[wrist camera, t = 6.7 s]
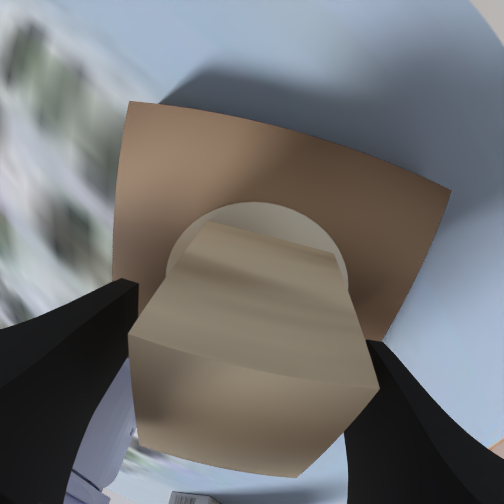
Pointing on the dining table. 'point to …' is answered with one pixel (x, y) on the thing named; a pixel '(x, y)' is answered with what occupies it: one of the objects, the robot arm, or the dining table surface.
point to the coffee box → (190, 499)
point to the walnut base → (269, 202)
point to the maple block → (249, 355)
